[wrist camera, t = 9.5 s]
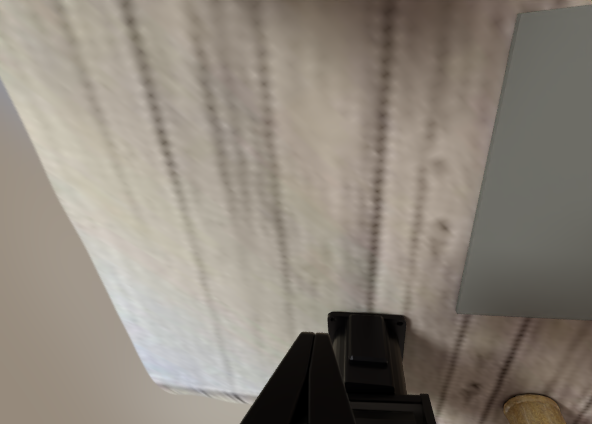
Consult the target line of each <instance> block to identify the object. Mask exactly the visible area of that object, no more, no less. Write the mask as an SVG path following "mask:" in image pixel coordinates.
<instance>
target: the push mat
mask: <svg viewBox="0 0 592 424" xmlns="http://www.w3.org/2000/svg"><path fill="white" fill-rule="evenodd" d="M456 313H457V314H471V315H491V316H511V317H531V318H551V319H571V320H592V5H585V6H577V7H569V8H560V9H552V10H544V11H536V12H527V13H520V14H517V19H516V23H515V28H514V33H513V38H512V42H511V47H510V52H509V57H508V62H507V66H506V71H505V76H504V81H503V85H502V90H501V95H500V100H499V105H498V109H497V114H496V119H495V124H494V128H493V133H492V138H491V143H490V147H489V152H488V157H487V162H486V167H485V171H484V176H483V181H482V186H481V190H480V195H479V200H478V205H477V210H476V214H475V219H474V224H473V229H472V233H471V238H470V243H469V248H468V253H467V257H466V262H465V267H464V272H463V276H462V281H461V286H460V291H459V296H458V300H457V305H456Z"/></svg>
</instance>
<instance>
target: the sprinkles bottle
mask: <svg viewBox="0 0 592 424" xmlns="http://www.w3.org/2000/svg"><path fill="white" fill-rule="evenodd" d="M503 411H504V414H505V416H506V417H507V419H508V420H509V422H510V424H566V422H565V420H564V418H563V417H562V414H561V413H560V408H559V406H558V405H557V404H556V403H555V402H554V401H553V400H552V399H550V398H548V397H545V396H541V395H532V394H525V395H519V396H516V397H514V398H511V399H509V400H508V401H507V402H506V403H505V404H504V407H503Z"/></svg>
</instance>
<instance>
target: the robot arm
mask: <svg viewBox="0 0 592 424" xmlns="http://www.w3.org/2000/svg"><path fill="white" fill-rule="evenodd" d="M405 331H406V320H405V318H404V317H403V316H398V315H379V314H360V313H341V312H331V313H329V314H328V332H329V334H328V333H316V334H315V333H313V332H301V333H300V334H299V336H298V337H297V339H296V340H295V342H294V343H293V345H292V346H291V348H290V349H289V351H288V352H287V354H286V355H285V357H284V358H283V360H282V361H281V363H280V364H279V366H278V367H277V369H276V370H275V372H274V373H273V375H272V376H271V378H270V379H269V381H268V382H267V384H266V385H265V387H264V388H263V390H262V391H261V393H260V394H259V396H258V397H257V399H256V400H255V402H254V403H253V405H252V406H251V408H250V409H249V411H248V412H247V414H246V415H245V417H244V418H243V420H242V421H241V423H240V424H436V422H435V418H434V414H433V410H432V406H431V402H430V398H429V395H428V394H420V395H407V391H406V385H405V378H404V371H403V365H402V360H403V351H404V341H405Z"/></svg>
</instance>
